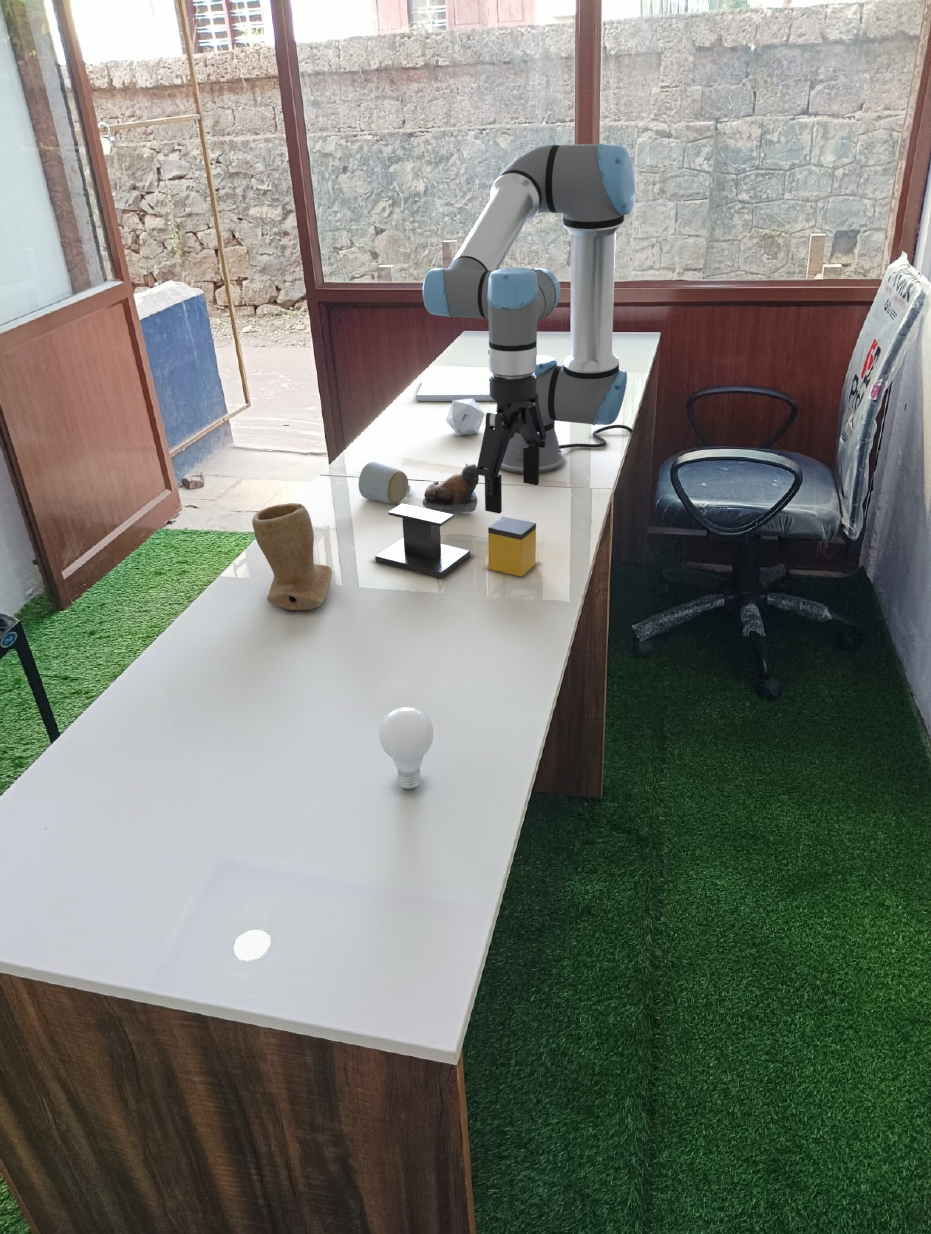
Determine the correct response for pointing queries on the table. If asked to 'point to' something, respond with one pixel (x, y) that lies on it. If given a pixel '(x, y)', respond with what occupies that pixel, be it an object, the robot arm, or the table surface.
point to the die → (465, 417)
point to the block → (512, 546)
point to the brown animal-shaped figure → (454, 492)
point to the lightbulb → (406, 742)
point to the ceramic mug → (383, 483)
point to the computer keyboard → (454, 391)
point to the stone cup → (291, 557)
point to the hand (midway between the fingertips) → (512, 497)
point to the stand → (422, 543)
